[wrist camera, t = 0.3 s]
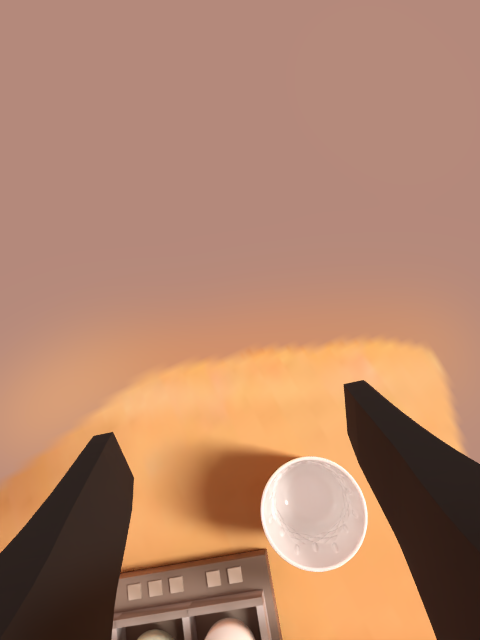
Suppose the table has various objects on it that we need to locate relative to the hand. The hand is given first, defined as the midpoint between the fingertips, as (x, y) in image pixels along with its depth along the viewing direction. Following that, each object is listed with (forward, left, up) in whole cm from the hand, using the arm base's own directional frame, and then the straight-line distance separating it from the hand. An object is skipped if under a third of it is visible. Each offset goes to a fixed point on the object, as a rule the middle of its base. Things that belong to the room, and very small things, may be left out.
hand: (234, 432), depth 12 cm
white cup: (-6, -2, -31) cm, 31 cm away
